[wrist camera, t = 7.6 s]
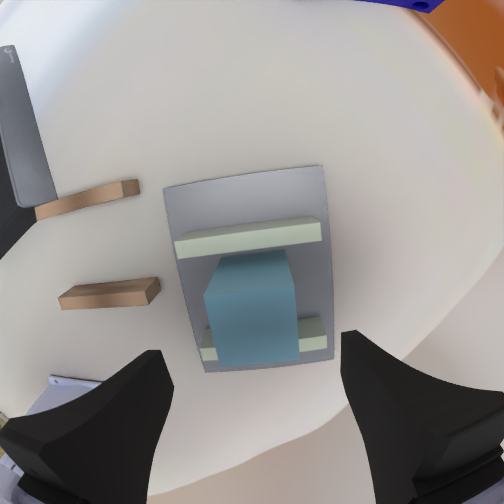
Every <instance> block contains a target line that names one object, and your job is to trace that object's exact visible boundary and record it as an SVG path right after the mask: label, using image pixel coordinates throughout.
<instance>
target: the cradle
mask: <svg viewBox="0 0 504 504" xmlns="http://www.w3.org/2000/svg"><path fill="white" fill-rule="evenodd" d="M136 194H140V192H139V186H138V180H127V181H120V182H116V183H112V184H108V185H105V186H101V187H97V188H94V189H91V190H87V191H84V192H80V193H77V194H74V195H71V196H68V197H64V198H61V199H58V200H55V201H52V202H49V203H46V204H43V205H41V206H38V207H35V213H36V218H37V221H38V220H42V219H45V218H48V217H52V216H55V215H59V214H62V213H66V212H69V211H73V210H76V209H80V208H84V207H87V206H91V205H95V204H99V203H103V202H107V201H111V200H115V199H119V198H123V197H128V196H132V195H136ZM159 291H160V286H159V282H158V278H157V277H155V278H146V279H137V280H128V281H118V282H109V283H99V284H89V285H79V286H74V287H72V288H71V289H69V290H68V291H67V292H65V293H64V294H62V295H61V296H60V297H58V300H59V303H60V306H61V309H62V310H68V309H92V308H110V307H127V306H142V305H149V304H150V303H151V301H152V300H153V299H154V298H155V296H156V295H157V294H158V293H159Z"/></svg>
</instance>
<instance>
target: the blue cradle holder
mask: <svg viewBox="0 0 504 504" xmlns="http://www.w3.org/2000/svg"><path fill="white" fill-rule="evenodd" d="M356 1H366V2H374V3H382V4H388V5H394V6H400V7H405V8H410V9H414V10H417V11H419V12H423V13H427V14H429V13H430V12H431V11H432V10H434V9H435V8H436V7H437V6H438V5H440V4H441V3H442V2H443V1H444V0H356Z"/></svg>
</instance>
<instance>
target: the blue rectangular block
mask: <svg viewBox="0 0 504 504" xmlns="http://www.w3.org/2000/svg"><path fill="white" fill-rule="evenodd" d="M203 297H204V301H205V306H206V310H207V315H208V319H209V324H210V328H211V332H212V337H213V341H214V345H215V349H216V353H217V357H218V361H219V365H220V367H225V366H240V365H253V364H264V363H274V362H283V361H292V360H300V351H299V337H298V324H297V312H296V300H295V289H294V283H293V279H292V275H291V272H290V268H289V264H288V261H287V257H286V254H285V250H284V249H282V250H274V251H266V252H258V253H250V254H242V255H233V256H225V257H221V259H220V261H219V263H218V265H217V267H216V269H215V272H214V274H213V276H212V278H211V280H210V282H209V284H208V287H207V289H206V291H205V293H204V295H203Z"/></svg>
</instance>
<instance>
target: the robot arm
mask: <svg viewBox="0 0 504 504" xmlns="http://www.w3.org/2000/svg"><path fill="white" fill-rule="evenodd" d="M340 373H341V377H342V381H343V385H344V389H345V393H346V396H347V398H348V401H349V403H350V406H351V408H352V411H353V414H354V416H355V419H356V421H357V424H358V426H359V429H360V431H361V434H362V437H363V440H364V443H365V448H366V452H367V456H368V461H369V465H370V470H371V475H372V480H373V487H374V493H375V499H376V504H504V461H503V459H502V458H501V455H502V454H503V451H504V450H503V449H502V447H501V446H500V443H501V442H502V441H503V439H504V393H503V392H500V391H490V390H480V389H474V388H469V387H465V386H460V385H456V384H453V383H449V382H446V381H443V380H440V379H437V378H435V377H432V376H430V375H427V374H425V373H423V372H420V371H419V370H416V369H414V368H412V367H410V366H409V365H407V364H405V363H403V362H402V361H400V360H398V359H397V358H395V357H393V356H392V355H390V354H389V353H387V352H386V351H384V350H383V349H382V348H380V347H379V346H377V345H376V344H375V343H373V342H372V341H371V340H369V339H368V338H367V337H365V336H364V335H363V334H361V333H360V332H359V331H357V330H353V331H347V332H341V370H340ZM48 381H49V383H50V385H49V386H48V388H47V389H46V390H45V391H44V392H43V394H42V395H41V396H40V397H39V398H38V400H37V401H36V402H35V403H34V405H33V406H32V407H31V408H30V409H29V411H28V412H27V413H26V415H25V416H21V417H16V418H10V419H9V420H8V421H7V422H6V424H5V425H4V426H3V427H2V429H1V430H0V446H1V448H2V449H3V450H4V451H5V453H4V455H3V456H2V458H1V459H0V504H146V501H147V491H148V484H149V477H150V471H151V466H152V461H153V456H154V453H155V449H156V446H157V443H158V440H159V438H160V435H161V432H162V429H163V426H164V424H165V421H166V418H167V415H168V412H169V410H170V407H171V402H172V397H173V391H174V385H173V382H172V379H171V377H170V374H169V372H168V369H167V366H166V363H165V361H164V358H163V355H162V352H161V350H147V351H145V352H144V353H142V354H141V355H140V356H138V357H137V358H135V359H134V360H133V361H132V362H130V363H129V364H128V365H126V366H125V367H124V368H122V369H121V370H120V371H118V372H117V373H116V374H114V375H113V376H112V377H110V378H109V379H107V380H106V381H104V382H103V383H101V382H92V381H84V380H76V379H69V378H63V377H56V376H48Z"/></svg>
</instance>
